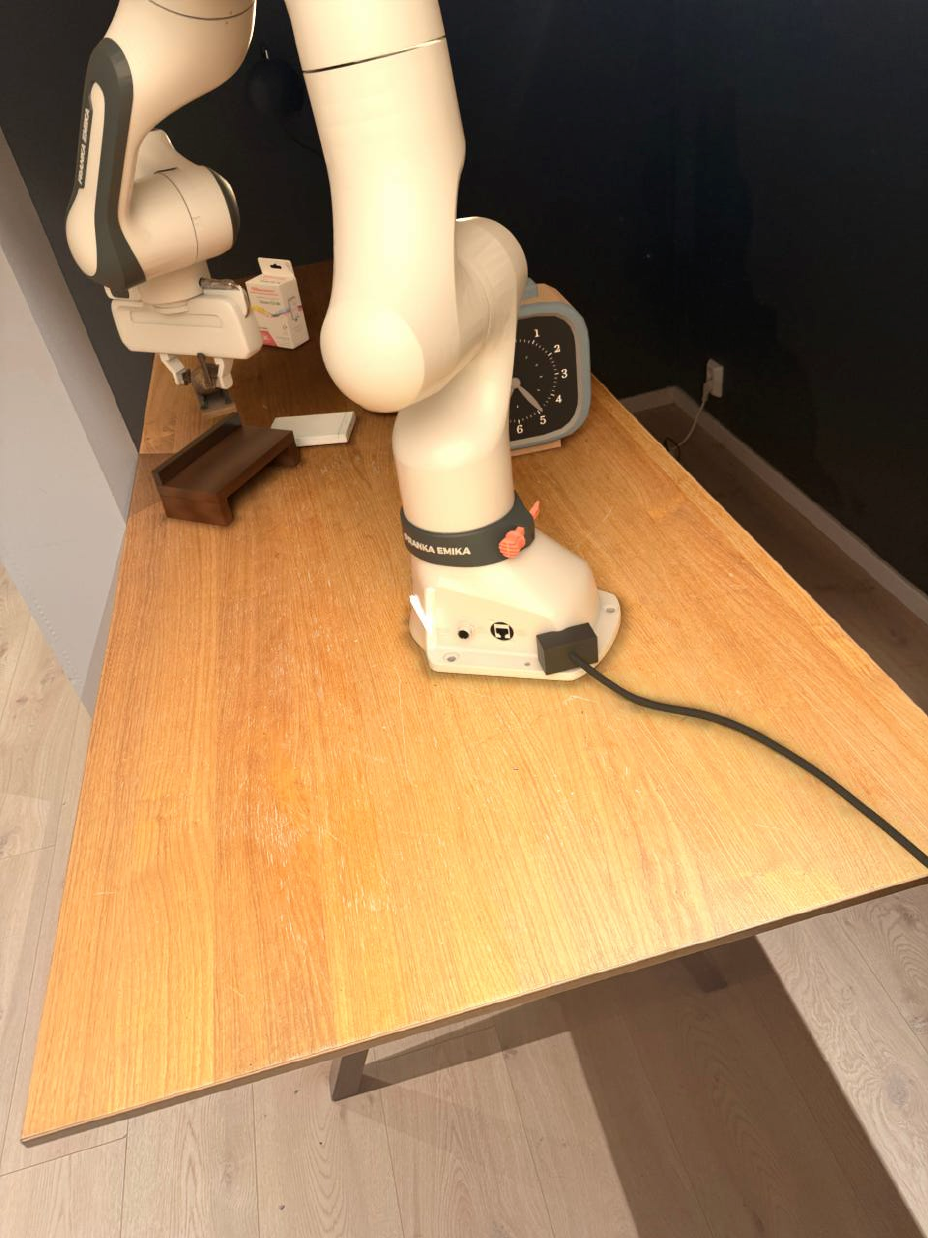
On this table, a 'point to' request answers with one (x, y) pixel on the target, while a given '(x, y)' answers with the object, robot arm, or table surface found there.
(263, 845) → the table surface
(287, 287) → the ink cartridge box
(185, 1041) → the table surface
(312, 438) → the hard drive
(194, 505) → the shelf
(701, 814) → the table surface
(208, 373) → the figurine
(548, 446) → the alarm clock
